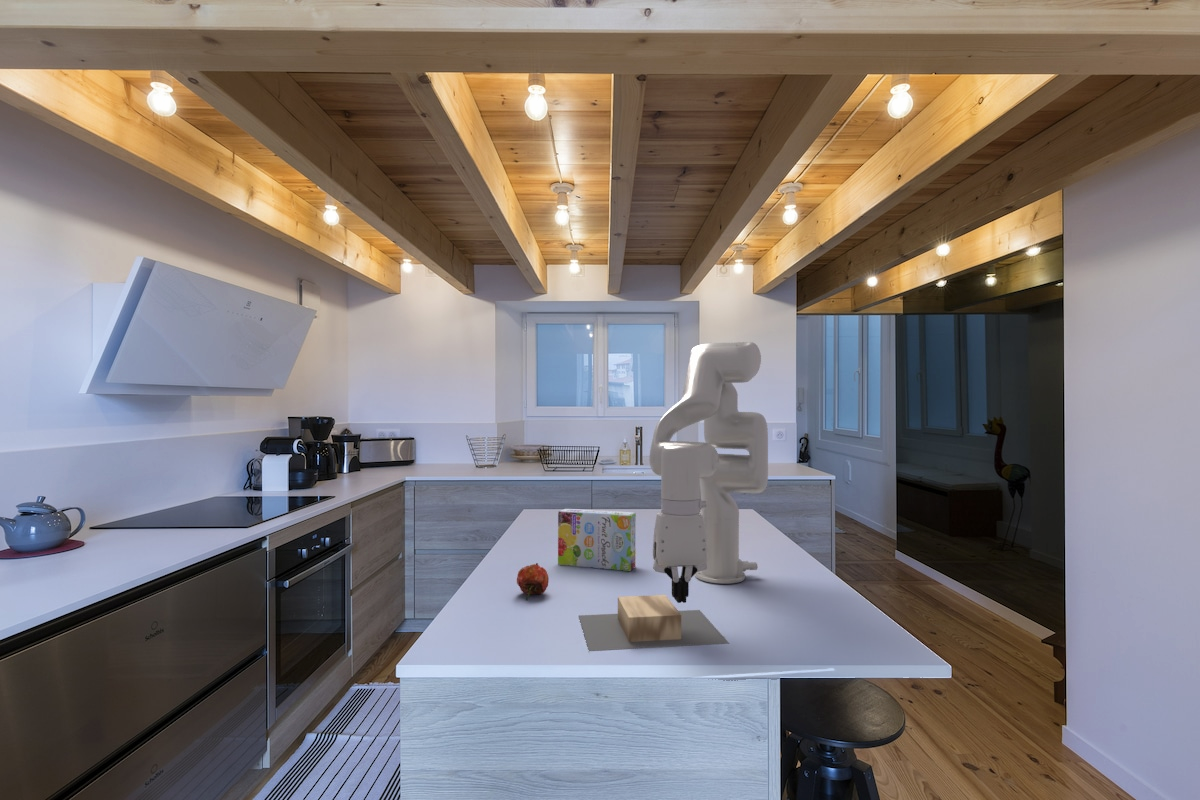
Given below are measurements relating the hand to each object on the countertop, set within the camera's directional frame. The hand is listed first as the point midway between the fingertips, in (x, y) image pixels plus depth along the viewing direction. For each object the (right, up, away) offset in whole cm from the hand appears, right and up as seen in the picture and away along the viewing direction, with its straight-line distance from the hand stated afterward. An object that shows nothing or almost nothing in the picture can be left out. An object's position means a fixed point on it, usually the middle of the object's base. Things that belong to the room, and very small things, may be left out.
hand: (680, 600), depth 117 cm
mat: (-6, -6, -1) cm, 8 cm away
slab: (-1, -3, 0) cm, 3 cm away
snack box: (-17, -6, +46) cm, 49 cm away
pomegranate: (-31, -6, +21) cm, 38 cm away
